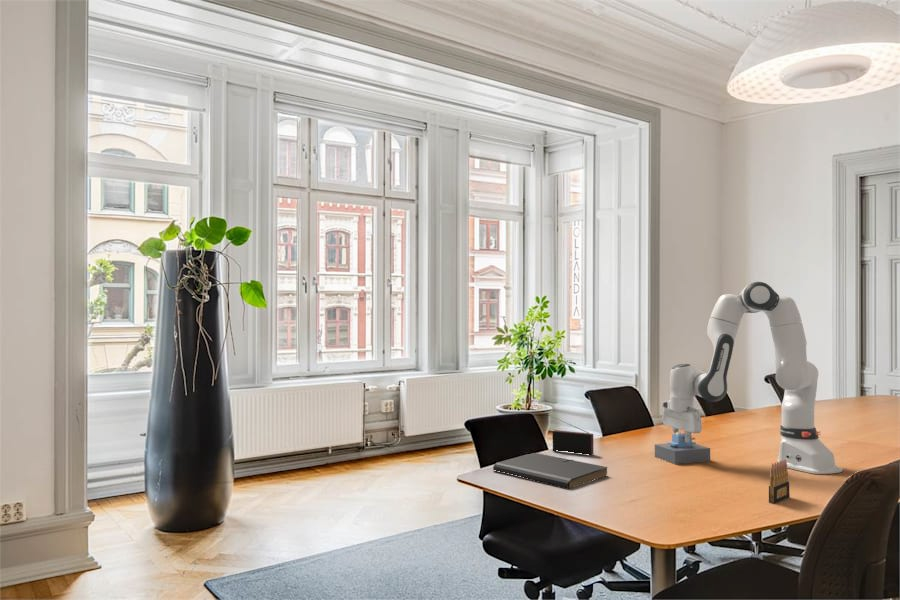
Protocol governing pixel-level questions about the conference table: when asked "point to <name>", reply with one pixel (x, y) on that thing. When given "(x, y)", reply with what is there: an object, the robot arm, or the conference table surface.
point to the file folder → (551, 469)
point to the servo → (681, 441)
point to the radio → (573, 441)
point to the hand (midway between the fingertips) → (681, 440)
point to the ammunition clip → (779, 482)
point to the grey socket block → (682, 453)
